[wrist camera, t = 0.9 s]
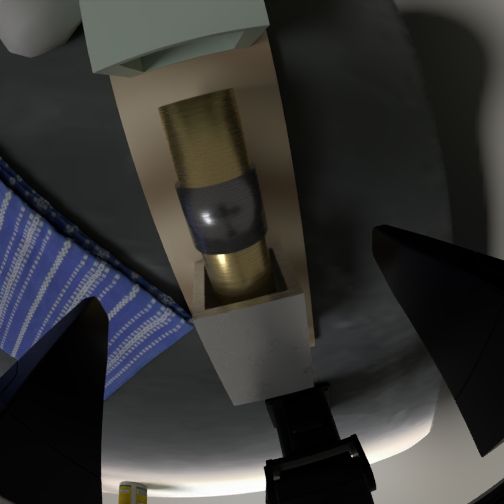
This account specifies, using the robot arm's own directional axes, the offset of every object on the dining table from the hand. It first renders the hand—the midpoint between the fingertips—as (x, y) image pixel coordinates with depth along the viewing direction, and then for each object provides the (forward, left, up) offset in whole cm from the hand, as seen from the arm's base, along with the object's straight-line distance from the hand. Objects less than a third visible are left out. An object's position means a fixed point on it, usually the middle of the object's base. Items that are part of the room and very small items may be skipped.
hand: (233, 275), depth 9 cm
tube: (+22, +10, -9) cm, 26 cm away
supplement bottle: (-48, +31, -9) cm, 58 cm away
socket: (+10, 0, -9) cm, 13 cm away
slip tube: (-3, 0, -7) cm, 8 cm away
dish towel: (-3, +17, -9) cm, 20 cm away
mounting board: (0, 0, -9) cm, 9 cm away
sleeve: (-8, 0, -9) cm, 12 cm away
